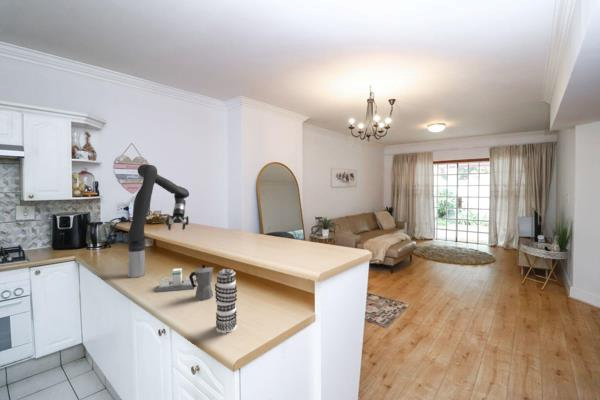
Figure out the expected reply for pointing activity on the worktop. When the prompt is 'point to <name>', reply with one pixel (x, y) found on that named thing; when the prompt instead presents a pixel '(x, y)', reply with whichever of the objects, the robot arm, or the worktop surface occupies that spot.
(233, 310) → the black and white cylinder
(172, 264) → the worktop surface
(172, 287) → the rail panel
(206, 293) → the coffeepot
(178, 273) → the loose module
